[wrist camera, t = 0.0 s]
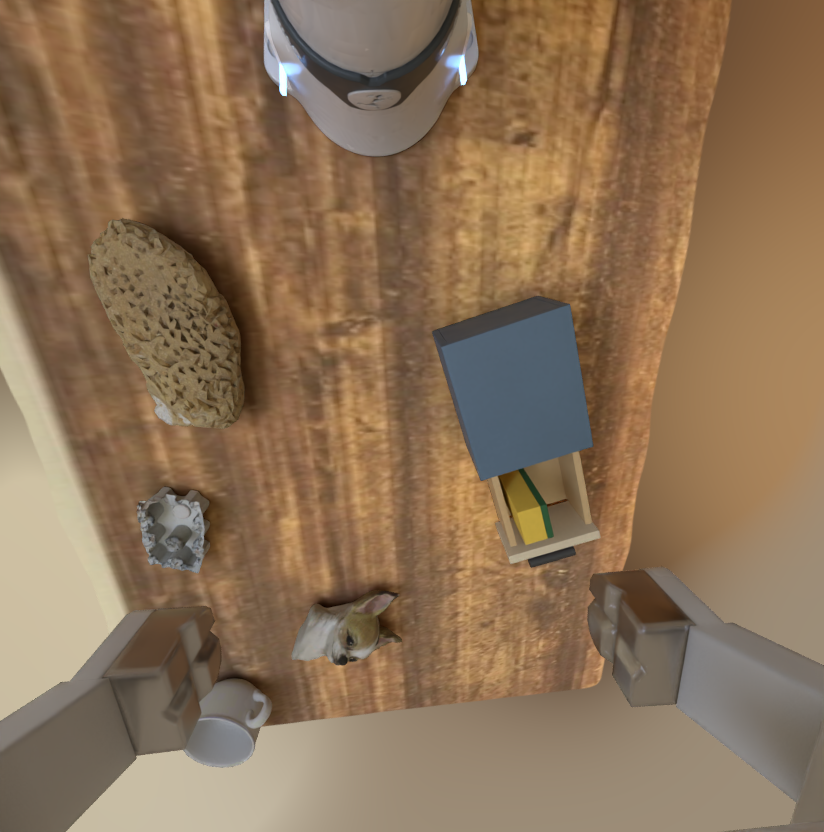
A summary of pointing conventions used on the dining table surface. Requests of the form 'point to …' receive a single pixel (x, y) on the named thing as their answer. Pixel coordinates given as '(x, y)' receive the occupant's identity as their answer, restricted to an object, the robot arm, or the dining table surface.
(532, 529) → the scrub sponge
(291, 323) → the dining table surface
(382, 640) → the ceramic sculpture
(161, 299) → the sponge
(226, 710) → the teacup
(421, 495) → the dining table surface
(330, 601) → the dining table surface
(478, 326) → the cabinet
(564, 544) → the drawer
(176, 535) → the egg carton
